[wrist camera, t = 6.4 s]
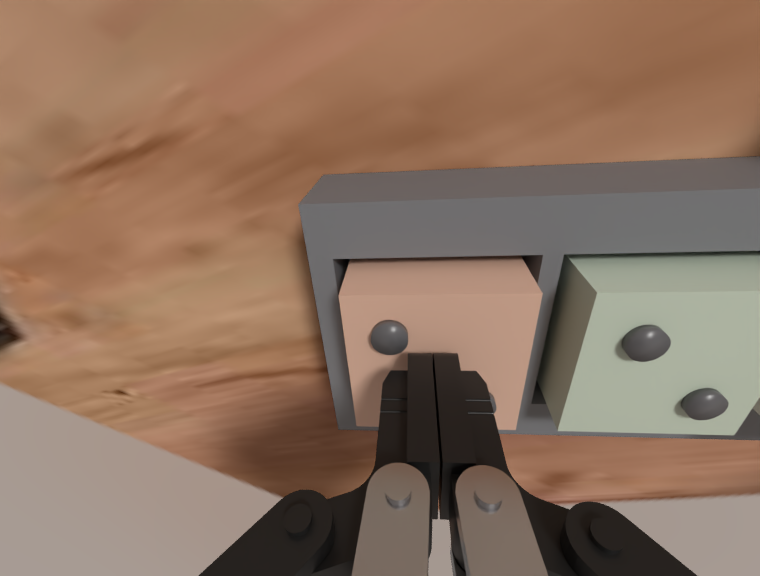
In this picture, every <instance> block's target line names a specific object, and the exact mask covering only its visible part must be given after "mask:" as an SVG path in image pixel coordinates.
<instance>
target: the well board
mask: <svg viewBox="0 0 760 576" xmlns="http://www.w3.org/2000/svg"><path fill="white" fill-rule="evenodd" d="M298 205H299V211H300V216H301V222H302V227H303V233H304V239H305V244H306V250H307V256H308V261H309V267H310V272H311V278H312V284H313V289H314V295H315V300H316V306H317V312H318V317H319V323H320V328H321V334H322V340H323V345H324V351H325V357H326V362H327V368H328V373H329V379H330V385H331V390H332V396H333V401H334V407H335V413H336V418H337V424H338V429H339V430H376V431H378V429H379V427H367V426H356V418H355V411H354V404H353V397H352V390H351V382H350V375H349V368H348V361H347V354H346V346H345V339H344V332H343V325H342V317H341V310H340V303H339V296H338V295H339V292H340V289H341V286H342V283H343V280H344V277H345V274H346V271H347V268H348V265H349V262H350V259H363V258H413V257H463V256H513V255H521V257H522V259H523V260H524V262H525V264H526V266H527V267H528V269H529V271H530V272H531V274H532V276H533V278H534V279H535V281H536V283H537V284H538V286H539V288H540V290H541V291H542V293H543V295H542V300H541V305H540V310H539V315H538V320H537V325H536V330H535V335H534V340H533V345H532V350H531V355H530V360H529V365H528V370H527V375H526V380H525V385H524V390H523V395H522V400H521V406H520V411H519V416H518V421H517V426H516V430H498V432H499V434H533V435H572V436H612V437H651V438H690V439H729V440H760V415H759V414H758V413H757V412H756V411H755V410H754V409H753V408H752V410H751V411H750V413H749V414H748V416H747V417H746V419H745V420H744V421H743V423H742V424H741V426H740V427H739V429H738V430H737V432H736V433H735V435H698V434H658V433H617V432H576V431H557V429H556V426H555V424H554V421H553V419H552V416H551V414H550V411H549V409H548V406H547V404H546V401H545V399H544V396H543V394H542V391H541V389H540V386H539V384H538V381H537V375H538V371H539V366H540V362H541V357H542V353H543V348H544V344H545V339H546V334H547V330H548V325H549V321H550V316H551V312H552V307H553V303H554V298H555V293H556V289H557V284H558V280H559V275H560V271H561V266H562V262H563V257H564V254H614V253H664V252H714V251H758V252H760V156H754V157H731V158H707V159H684V160H660V161H637V162H613V163H590V164H566V165H543V166H519V167H496V168H472V169H449V170H425V171H402V172H378V173H355V174H331V175H323V176H322V177H321V178H320V179H319V181H318V182H317V183H316V184H315V185H314V187H313V188H312V189H311V190H310V191H309V192H308V194H307V195H306V196H305V197H304V198H303V200H302V201H301V202H300V203H299V204H298Z"/></svg>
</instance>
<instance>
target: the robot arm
mask: <svg viewBox="0 0 760 576" xmlns="http://www.w3.org/2000/svg"><path fill="white" fill-rule="evenodd" d="M438 496H439V509H440V519H447V520H449V522H450V533H451V550H450V554H451V563H452V569H453V576H697V575H696V574H694V573H693V572H692V571H691V570H689V569H688V568H687V567H686V566H685V565H683V564H682V563H681V562H680V561H678V560H677V559H676V558H675V557H674V556H672V555H671V554H670V553H669V552H667V551H666V550H665V549H664V548H662V547H661V546H660V545H659V544H658V543H656V542H655V541H654V540H653V539H651V538H650V537H649V536H648V535H647V534H645V533H644V532H643V531H642V530H640V529H639V528H638V527H637V526H636V525H634V524H633V523H632V522H631V521H629V520H628V519H627V518H626V517H624V516H623V515H622V514H620V513H619V512H618V511H616V510H614V509H613V508H610V507H609V506H606V505H604V504H600V503H597V502H582V503H579V504H576V505H575V506H573V507H572V508H571V509H570V510H569V509H566V508H564V507H561V506H558V505H555V504H552V503H550V502H547V501H544V500H541V499H539V498H537V497H535V496H533V495H531V494H529V493H528V492H527V491H525V490H524V489H523V488H522V487H521V486H519V485H518V483H517V482H516V481H515V480H514V479H513V477H512V476H511V474H510V472H509V470H508V468H507V464H506V461H505V457H504V452H503V448H502V444H501V440H500V436H499V432H498V428H497V424H496V420H495V416H494V411H493V407H492V403H491V401H490V395H489V391H488V387H487V384H486V382H485V381H484V380H483V379H482V377H481V376H480V375H479V373H478V372H477V371H461V368H460V362H459V357H458V353H433V365H432V354H431V353H408V370H390V372H389V374H388V375H387V377H386V378H385V380H384V381H383V383H382V395H381V406H380V417H379V429H378V440H377V452H376V462H375V466H374V469H373V471H372V473H371V475H370V477H369V478H368V479H367V480H366V482H365V483H364V484H362V485H361V486H360V487H359V488H357V489H355V490H353V491H351V492H348V493H345V494H342V495H339V496H336V497H333V498H329V499H326V498H325V497H324V496H323V495H321V494H320V493H318V492H316V491H313V490H299V491H295V492H293V493H290V494H289V495H287V496H285V497H284V498H283V499H281V500H280V501H279V502H278V503H277V504H276V505H275V506H274V507H273V508H271V509H270V510H269V511H268V512H267V513H266V514H265V515H264V516H263V517H262V518H261V519H260V520H259V521H257V522H256V523H255V524H254V525H253V526H252V527H251V528H250V529H249V530H248V531H247V532H245V533H244V534H243V535H242V536H241V537H240V538H239V539H238V540H237V541H236V542H235V543H234V544H232V546H230V547H229V548H228V549H227V550H226V551H225V552H224V553H223V554H222V555H220V556H219V558H217V559H216V560H215V561H214V562H213V563H212V564H211V565H210V566H209V567H207V568H206V569H205V570H204V571H203V572H202V573H201V574H200V575H199V576H428V559H429V556H430V553H431V545H432V519H438Z"/></svg>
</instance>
